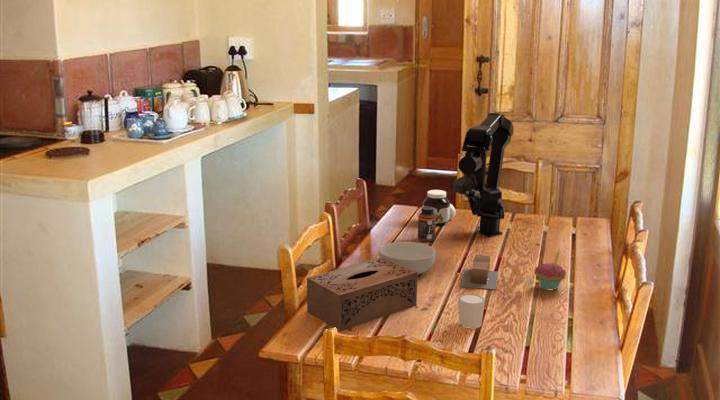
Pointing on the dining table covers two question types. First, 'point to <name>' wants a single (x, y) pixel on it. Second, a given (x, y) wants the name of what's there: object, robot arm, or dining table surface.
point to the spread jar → (439, 206)
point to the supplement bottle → (426, 224)
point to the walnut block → (480, 269)
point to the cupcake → (550, 274)
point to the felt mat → (490, 285)
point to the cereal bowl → (409, 255)
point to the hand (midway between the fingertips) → (474, 214)
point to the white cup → (471, 310)
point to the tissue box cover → (361, 293)
